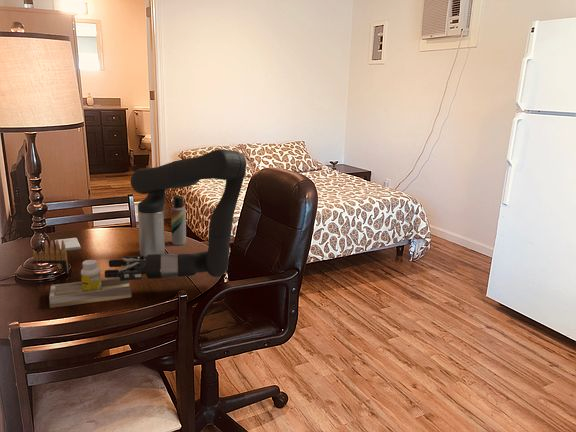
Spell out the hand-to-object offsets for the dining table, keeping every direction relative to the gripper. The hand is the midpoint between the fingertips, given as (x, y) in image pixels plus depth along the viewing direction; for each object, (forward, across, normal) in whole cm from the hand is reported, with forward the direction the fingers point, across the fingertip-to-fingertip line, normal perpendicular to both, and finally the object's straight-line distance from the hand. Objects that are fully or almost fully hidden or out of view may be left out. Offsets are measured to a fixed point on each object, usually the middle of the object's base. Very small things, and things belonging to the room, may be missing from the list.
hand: (106, 268), depth 136 cm
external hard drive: (+22, -49, +9) cm, 55 cm away
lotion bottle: (-21, -47, +9) cm, 53 cm away
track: (+5, 0, +8) cm, 10 cm away
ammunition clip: (+20, -20, +9) cm, 30 cm away
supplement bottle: (+5, 0, +8) cm, 9 cm away
